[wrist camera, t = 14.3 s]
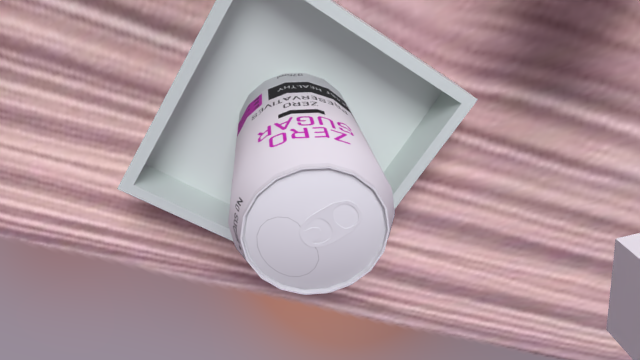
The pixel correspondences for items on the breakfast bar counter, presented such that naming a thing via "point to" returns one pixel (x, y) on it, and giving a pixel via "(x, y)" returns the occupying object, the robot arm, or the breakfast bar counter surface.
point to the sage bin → (270, 61)
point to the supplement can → (306, 188)
